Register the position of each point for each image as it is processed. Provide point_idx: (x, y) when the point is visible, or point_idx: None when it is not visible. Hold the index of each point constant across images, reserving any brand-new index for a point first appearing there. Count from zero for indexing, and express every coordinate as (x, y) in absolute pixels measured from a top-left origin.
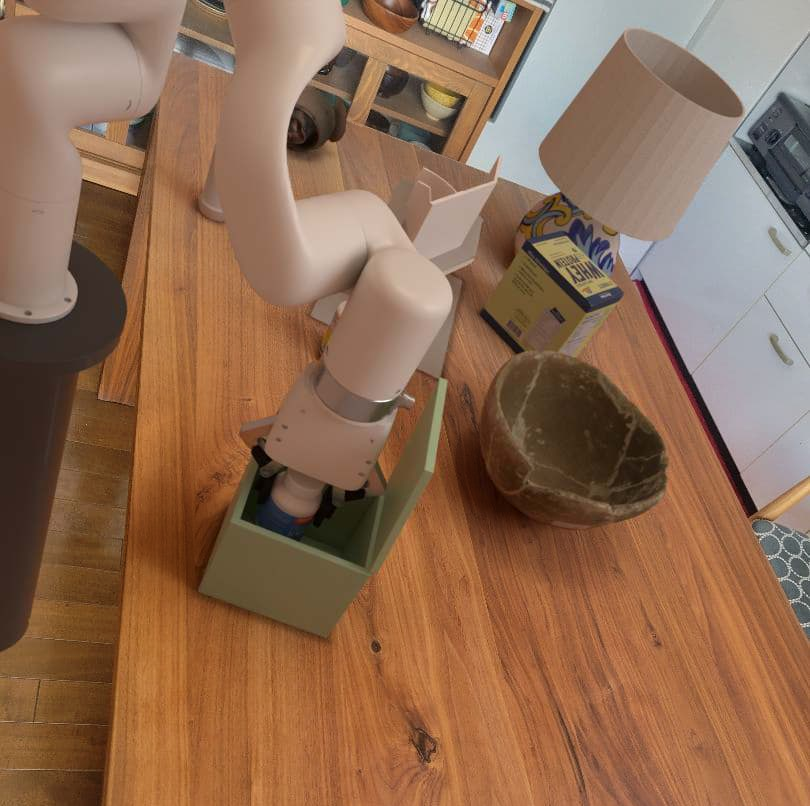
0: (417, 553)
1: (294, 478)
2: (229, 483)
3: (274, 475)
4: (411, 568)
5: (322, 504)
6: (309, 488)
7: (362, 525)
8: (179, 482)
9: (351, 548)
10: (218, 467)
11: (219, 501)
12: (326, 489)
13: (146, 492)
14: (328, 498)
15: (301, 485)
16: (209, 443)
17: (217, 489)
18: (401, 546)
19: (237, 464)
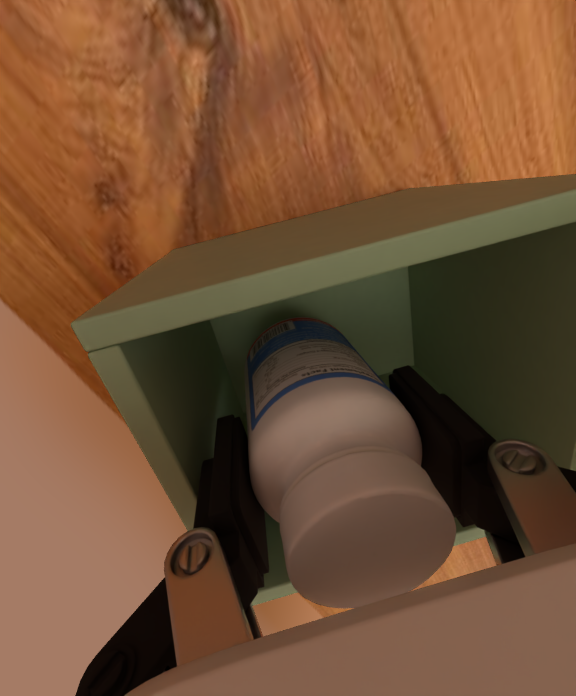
0: (557, 71)
1: (335, 599)
2: (135, 194)
3: (255, 560)
4: (543, 128)
5: (431, 474)
6: (403, 589)
7: (492, 254)
8: (66, 266)
9: (453, 276)
10: (87, 167)
11: (152, 253)
12: (429, 419)
13: (47, 327)
14: (464, 510)
15: (371, 598)
16: (14, 106)
17: (129, 228)
18: (519, 78)
19: (109, 123)
